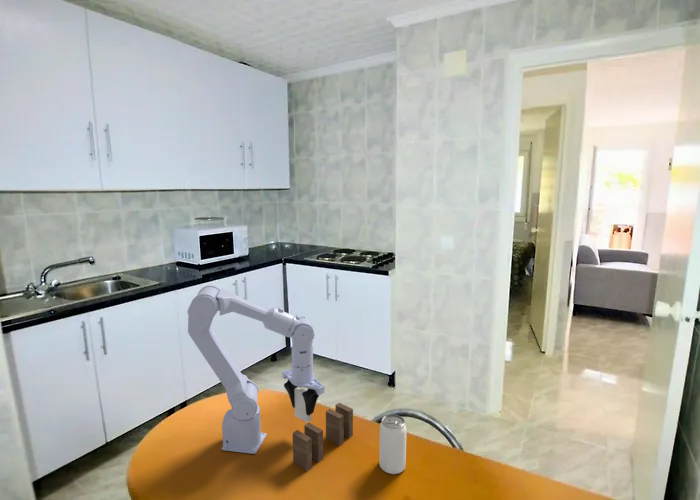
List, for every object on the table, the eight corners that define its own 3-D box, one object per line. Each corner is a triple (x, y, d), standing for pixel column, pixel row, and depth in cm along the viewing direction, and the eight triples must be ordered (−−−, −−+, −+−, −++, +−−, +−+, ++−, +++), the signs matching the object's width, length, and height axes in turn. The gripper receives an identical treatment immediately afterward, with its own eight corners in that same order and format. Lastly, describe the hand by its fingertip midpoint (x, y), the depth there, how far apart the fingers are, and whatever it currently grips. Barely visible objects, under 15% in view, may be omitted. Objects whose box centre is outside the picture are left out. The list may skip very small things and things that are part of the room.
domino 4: (339, 446, 98) (339, 418, 97) (325, 438, 101) (325, 411, 100) (343, 442, 99) (343, 415, 98) (329, 435, 102) (329, 408, 101)
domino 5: (349, 438, 101) (349, 411, 100) (335, 431, 104) (335, 405, 103) (352, 435, 102) (352, 409, 101) (339, 428, 105) (339, 402, 104)
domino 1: (307, 422, 99) (307, 395, 98) (294, 415, 102) (294, 389, 101) (311, 420, 100) (311, 392, 99) (299, 413, 103) (298, 386, 102)
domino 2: (307, 471, 89) (306, 441, 87) (293, 462, 92) (292, 433, 91) (311, 468, 90) (311, 438, 89) (297, 458, 93) (297, 429, 92)
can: (404, 477, 87) (405, 430, 85) (377, 473, 88) (378, 427, 86) (406, 458, 93) (407, 414, 91) (380, 454, 94) (381, 411, 93)
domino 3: (318, 462, 92) (318, 433, 91) (304, 453, 95) (304, 425, 94) (323, 459, 93) (322, 430, 92) (309, 450, 96) (308, 422, 95)
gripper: (332, 365, 97) (332, 413, 99) (295, 351, 107) (295, 394, 108) (313, 375, 92) (313, 425, 94) (276, 359, 101) (277, 405, 103)
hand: (303, 409), depth 101 cm, fingers closed on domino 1, 5 cm apart
